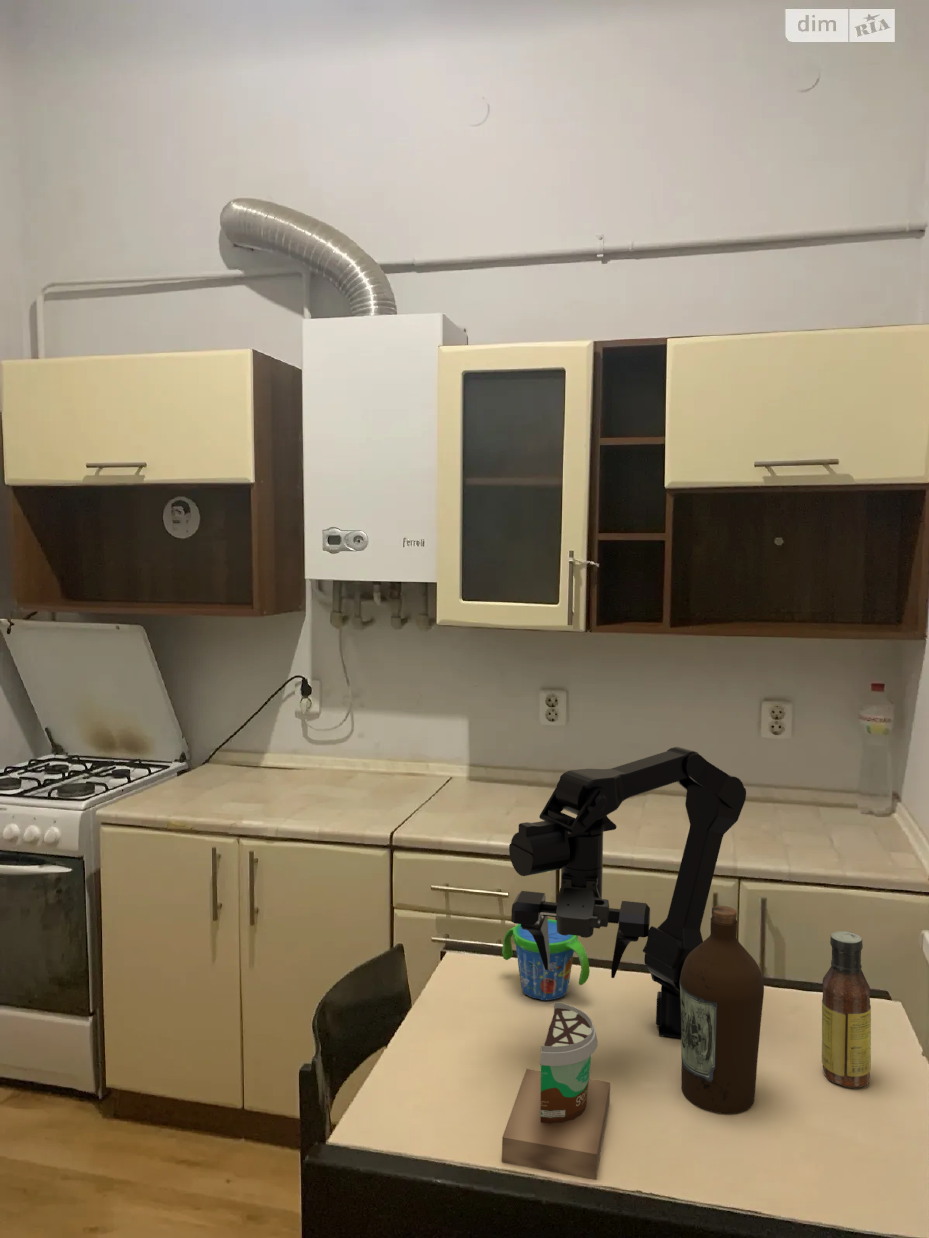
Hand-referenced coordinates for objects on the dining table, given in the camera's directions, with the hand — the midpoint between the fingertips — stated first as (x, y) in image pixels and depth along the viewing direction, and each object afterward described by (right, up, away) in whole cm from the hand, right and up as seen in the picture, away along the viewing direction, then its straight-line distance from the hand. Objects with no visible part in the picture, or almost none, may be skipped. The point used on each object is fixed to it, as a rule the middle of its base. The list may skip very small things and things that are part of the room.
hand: (579, 972), depth 128 cm
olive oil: (+17, -14, -6) cm, 23 cm away
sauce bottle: (+36, -14, -2) cm, 39 cm away
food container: (-3, -11, -14) cm, 18 cm away
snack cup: (-3, -12, +22) cm, 25 cm away
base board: (-4, -14, -15) cm, 21 cm away
